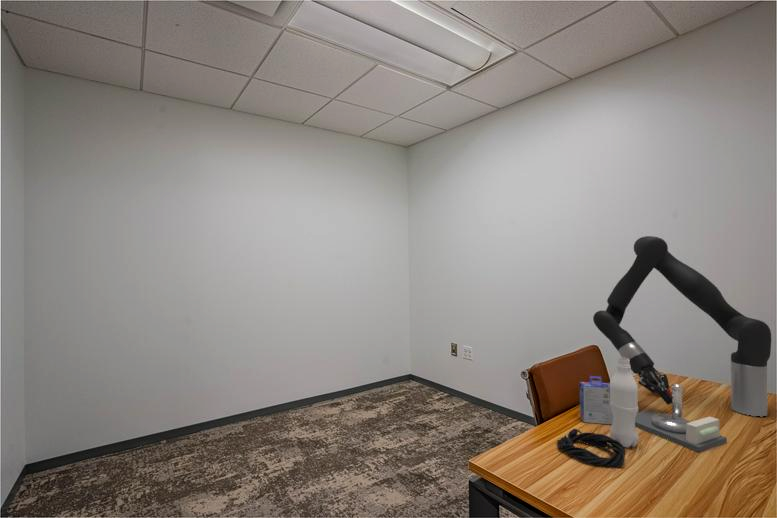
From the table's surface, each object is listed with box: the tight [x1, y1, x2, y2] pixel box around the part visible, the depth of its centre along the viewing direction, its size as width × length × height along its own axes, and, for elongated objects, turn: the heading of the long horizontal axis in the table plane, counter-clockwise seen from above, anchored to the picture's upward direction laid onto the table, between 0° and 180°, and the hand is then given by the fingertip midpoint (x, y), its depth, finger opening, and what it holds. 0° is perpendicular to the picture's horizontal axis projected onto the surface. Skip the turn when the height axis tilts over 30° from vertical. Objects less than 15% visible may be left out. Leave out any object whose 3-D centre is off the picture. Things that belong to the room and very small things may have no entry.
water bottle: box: [609, 356, 639, 448], centre depth 110 cm, size 7×7×25 cm
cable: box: [556, 428, 626, 468], centre depth 104 cm, size 17×14×4 cm
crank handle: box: [652, 383, 691, 434], centre depth 119 cm, size 16×10×11 cm, turn 133°
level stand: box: [635, 409, 727, 453], centre depth 118 cm, size 14×22×6 cm, turn 24°
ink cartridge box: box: [578, 375, 613, 425], centre depth 126 cm, size 10×6×14 cm, turn 78°
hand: (671, 403), depth 125 cm, fingers closed
